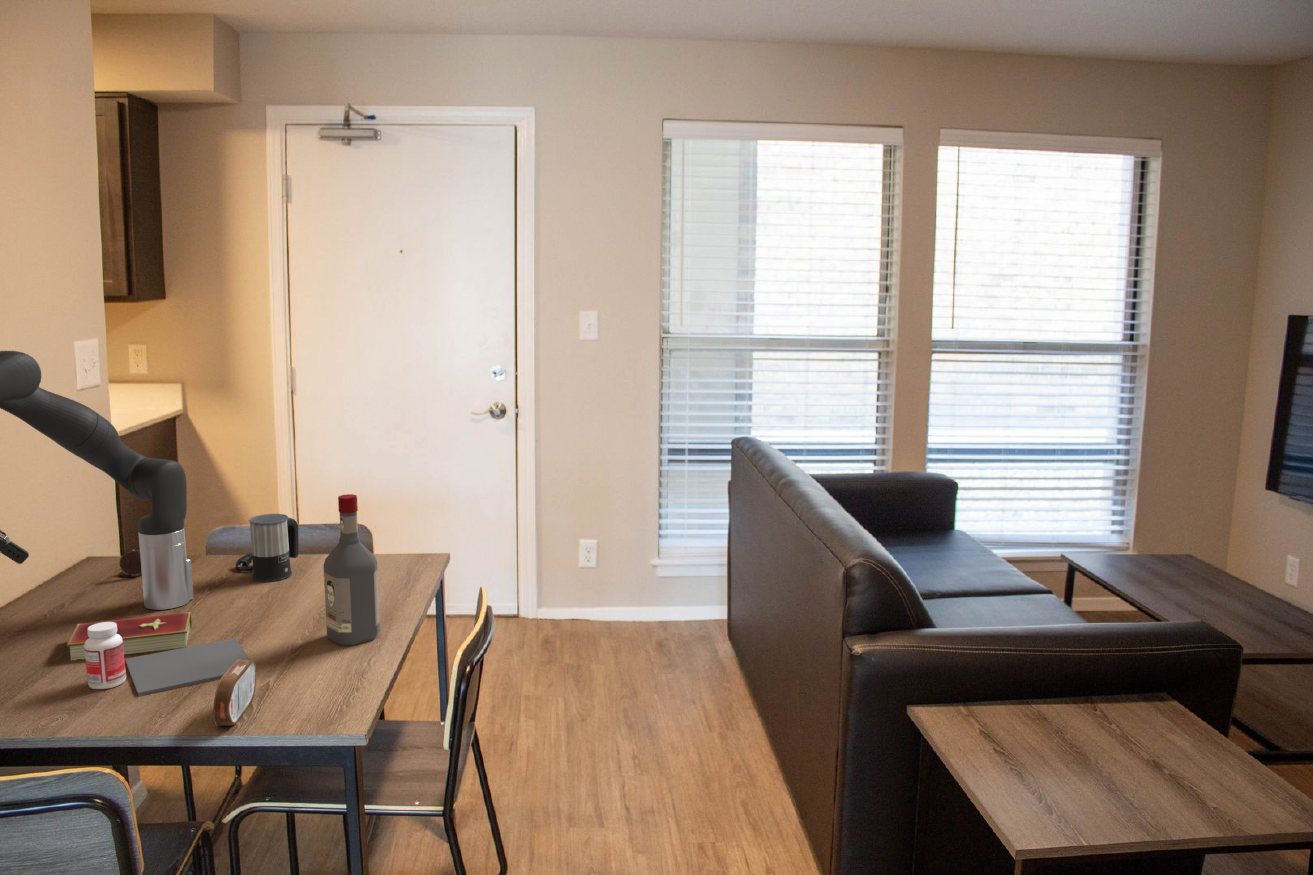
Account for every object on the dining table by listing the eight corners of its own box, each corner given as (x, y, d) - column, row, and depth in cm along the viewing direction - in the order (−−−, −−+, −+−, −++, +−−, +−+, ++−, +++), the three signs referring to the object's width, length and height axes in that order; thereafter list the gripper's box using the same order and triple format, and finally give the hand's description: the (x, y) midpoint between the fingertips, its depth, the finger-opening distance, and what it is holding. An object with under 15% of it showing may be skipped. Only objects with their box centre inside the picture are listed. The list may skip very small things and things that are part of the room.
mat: (138, 695, 176) (138, 692, 176) (125, 661, 191) (125, 658, 190) (256, 671, 187) (255, 668, 187) (235, 640, 202) (235, 637, 202)
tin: (242, 695, 177) (239, 651, 176) (260, 694, 177) (258, 650, 176) (212, 735, 162) (209, 687, 161) (232, 734, 162) (229, 686, 161)
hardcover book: (79, 641, 201) (77, 622, 201) (192, 628, 209) (190, 610, 208) (68, 664, 190) (66, 643, 190) (188, 649, 198) (186, 629, 197)
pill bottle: (128, 674, 185) (123, 618, 183) (123, 687, 179) (118, 630, 177) (91, 678, 183) (86, 622, 181) (85, 692, 177) (79, 634, 175)
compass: (148, 568, 247) (145, 540, 246) (149, 577, 241) (147, 548, 239) (111, 573, 243) (109, 544, 242) (112, 582, 237) (109, 553, 235)
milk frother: (282, 582, 238) (279, 523, 235) (218, 581, 238) (214, 522, 236) (305, 565, 252) (302, 508, 249) (243, 563, 252) (240, 507, 250)
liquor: (363, 625, 211) (357, 489, 206) (384, 637, 205) (379, 496, 199) (322, 636, 205) (315, 495, 199) (343, 648, 198) (337, 504, 193)
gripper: (-53, 489, 159) (43, 551, 168) (-51, 474, 170) (39, 533, 178) (-90, 526, 157) (9, 586, 166) (-86, 508, 167) (7, 566, 176)
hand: (25, 558), depth 172 cm, fingers closed
